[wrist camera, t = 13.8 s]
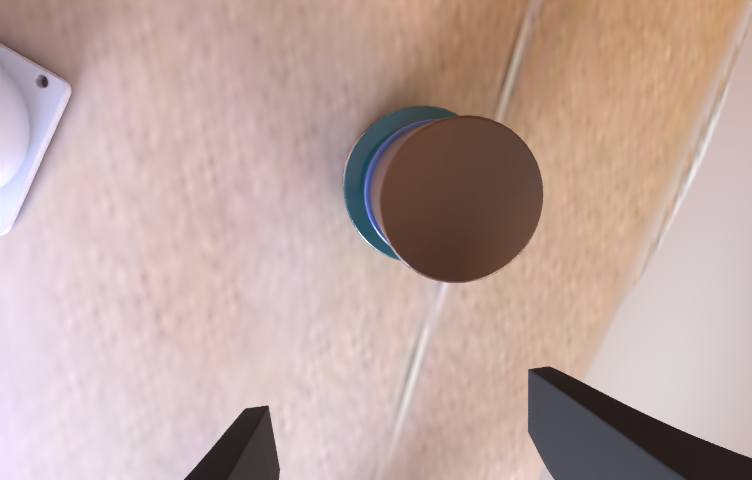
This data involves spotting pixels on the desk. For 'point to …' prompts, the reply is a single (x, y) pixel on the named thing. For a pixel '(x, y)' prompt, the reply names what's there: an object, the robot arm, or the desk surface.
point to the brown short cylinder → (457, 198)
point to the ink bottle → (365, 161)
